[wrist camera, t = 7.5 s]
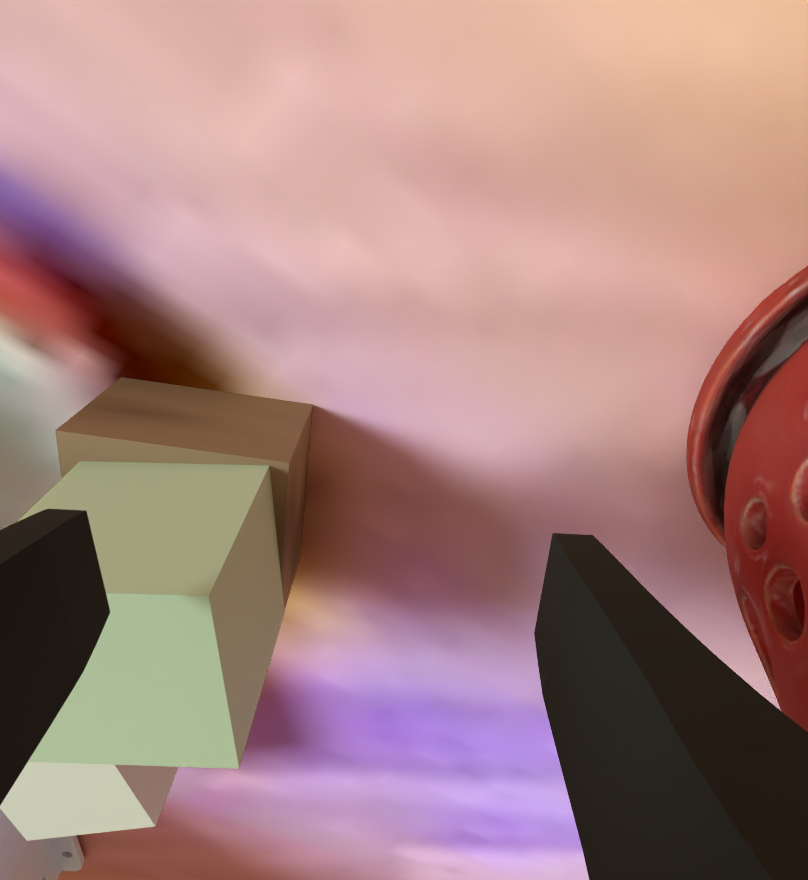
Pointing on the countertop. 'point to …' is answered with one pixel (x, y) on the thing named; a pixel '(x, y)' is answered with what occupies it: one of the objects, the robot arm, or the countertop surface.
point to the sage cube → (172, 613)
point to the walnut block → (201, 442)
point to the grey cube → (86, 798)
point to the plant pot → (762, 480)
